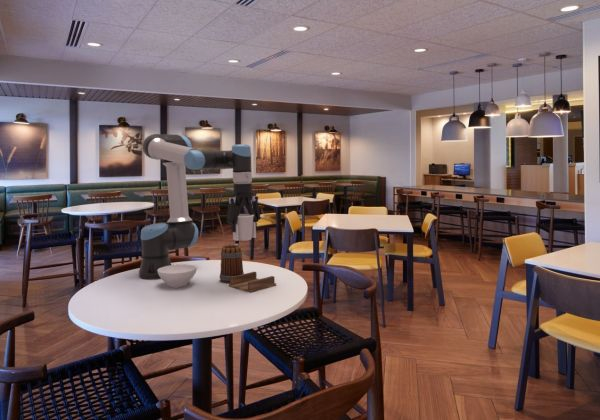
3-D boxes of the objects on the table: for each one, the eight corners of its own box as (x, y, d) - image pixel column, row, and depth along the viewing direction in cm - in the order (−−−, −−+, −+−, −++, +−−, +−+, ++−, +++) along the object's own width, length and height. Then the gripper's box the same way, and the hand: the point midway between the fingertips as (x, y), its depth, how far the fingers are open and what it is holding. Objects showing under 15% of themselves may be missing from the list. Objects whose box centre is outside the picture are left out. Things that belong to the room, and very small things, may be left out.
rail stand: (228, 286, 183) (228, 277, 183) (254, 279, 193) (254, 271, 193) (250, 292, 173) (250, 283, 173) (276, 285, 183) (276, 276, 183)
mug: (239, 284, 186) (238, 249, 185) (216, 283, 188) (215, 248, 187) (250, 274, 202) (250, 242, 200) (229, 274, 204) (228, 242, 202)
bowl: (161, 292, 175) (161, 275, 175) (155, 283, 190) (154, 267, 189) (201, 286, 183) (201, 270, 182) (192, 278, 197) (191, 262, 196)
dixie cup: (232, 238, 182) (231, 214, 181) (251, 237, 185) (250, 213, 184) (236, 241, 174) (235, 216, 174) (257, 240, 178) (256, 215, 177)
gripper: (226, 184, 168) (228, 243, 170) (268, 182, 182) (270, 236, 184) (215, 184, 173) (217, 241, 175) (257, 182, 188) (258, 234, 190)
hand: (244, 238), depth 180 cm, fingers closed on dixie cup, 8 cm apart
